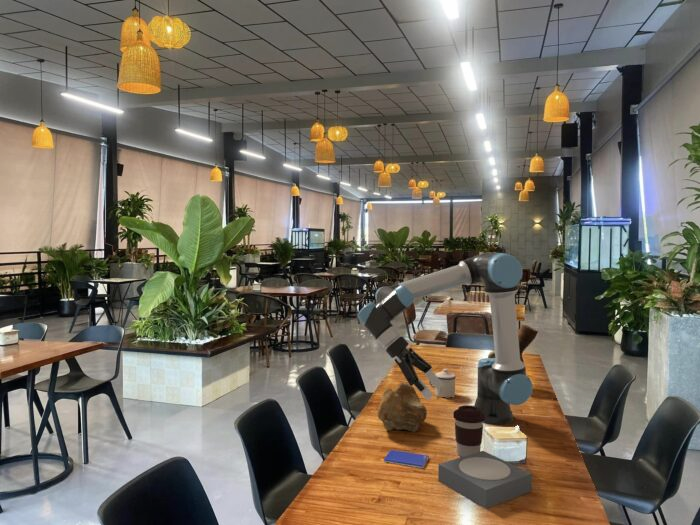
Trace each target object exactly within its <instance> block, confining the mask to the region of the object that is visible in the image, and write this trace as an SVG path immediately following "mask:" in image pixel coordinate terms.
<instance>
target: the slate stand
mask: <svg viewBox="0 0 700 525" xmlns="http://www.w3.org/2000/svg"><path fill="white" fill-rule="evenodd" d="M437 470H438V475H437V476H438V478H437V479H438V480H437V481H438V482H439V483H441V484H442V485H444V486H446V487H448V488H449V489H451V490H453V491H454V492H456V493H458V494H459V493H460V495H461V496H463V497H464V496H465V497H464V498H466V499H468V500H470V501H471V502H473V503H474V504H476V505H477V506H479V507H482V508H483V509H490V508H491V507H494V506H496V505H499V504H503V503H505V502H507V501H509V500H512V499H514V498H517V497H520V496H523V495H526V494H528V493H530V492H532V485H533V484H532V483H533V482H532V480H533V473H531V472H529V471H527V470H526V469H523V468H521V467H519V466H516V465H514V464H513V463H510V462H507V461H506V460H504V459H502V458H500V457H498V456H495V455H493V454H492V453H489V452H487V451H484V450H480V452H477V453H474V454H470V455H467V456H464V457H462V456H460V457H457V458H454V459H451V460H447V461H444V462H441V463H438V469H437Z"/></svg>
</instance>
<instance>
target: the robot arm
mask: <svg viewBox="0 0 700 525" xmlns="http://www.w3.org/2000/svg"><path fill="white" fill-rule="evenodd" d="M523 271H524V270H523V266H522V264H521V262H520V261H519V259H518V258H517V257H515V256H514V255H511V254H508V253H505V252H491V251H490V252H484V253H480V254H478V255H474V256H472V257H469V258H467V259H464V260H461V261H459V263H458V264H457V265H452V266H450V267H447V268H443V269H440V270H437V271H434V272H431V273H429V274H425V275H422V276H418V277H415V278H412V279H409V280H405V281H402V282H399V283H396V284H393V285H389V286H381V287H379V288H378V289H377V290H376V292H375V295H374V296H375V301H376V303H374V302H372V301H370V302H369V303H367V304H366V305H364V306H363V307H362V308H361V309H360V310H359V312H358V313H357V318H358V320H359V321H360V322H361V324H362V325H363V326H364V327H365V329H367V330H368V332H370V334H371V336H373V338H374V339H375V340H376V341H377V342H378V346H379V345H380V346H381V347H382V348H383V349H385V352H386V354H388V355H389V357H390V358H392V359H393V358H395V357H396V358H395V359H394V362H395V363H396V365H397V366H398V368H399V369H400V371H401V372H402V374H403V376H404V378H405V379H406V381H407V383H408V384H410V385H411V386H414V388H416V389H417V390H418V391H419V393H420V394H421V395H422V396H423V398H425V400H426V401H428V400H430V399H431V398H433V396H434V395H435V393H433V392H432V390H430V388H429V387H428V386H427V385H426V384H425V383H424V381H423V379H421V378H420V379H419V377H418V375H417V372H416V370H415V368H416V369H418V371H421V372H422V373H424V376H425V377H426V378H427V379H428V381H429V380H430V382H431V384H432V386H434V387H436V389H438V388H440V387H441V386H442V385H443V383H442V382H441V381H440V380H439V378H438V377H437V376H436V375H435V374H436V373H435V372H434V371H433V370H432V368H433V366H432V365H431V364H430V363H428V362H427V361H426V360H425V359H424V358H423V357H421V356H420V355H419V354H418V353H416V352H415V350H414V349H413V348H412V347H409V348H408V346H409V342H408V341H407V340H406V338H405V337H404V336H401V332H399V330H398V329H397V328H396V327H395V326H394V325H393V323H392V321H393V320H394V319H396V318H397V317H398V316H399V315H400V314H402V313H403V312H404V311H405V310H406V309H408V308H410V306H411V304H413V303H414V302H415V300H417V299H421V298H424V297H427V296H431V295H434V294H437V293H440V292H443V291H446V290H449V289H453V288H455V287H459V286H463V285H466V286H471V285H474V284H484V293H485V294H487V295H488V297H489V304H490V315H491V325H492V334H493V335H492V336H493V337H492V338H493V344H494V346H493V347H494V348H493V349H494V351H495V358H488V357H485V358H481V359H479V360H478V362H477V387H476V388H477V394H476V395H477V396H476V400H475V402H474V405H473V406H475V407H478V408H479V409H480V411H481V412H483V413H484V414H485V420H484V421H483V423H486V424H491V425H492V424H493V425H494V424H495V425H501V424H509V423H511V422H512V421H513V411H512V409H511V406H520V405H522V404H525V403H526V402H527V401H528V400H529V399H530V398H531V396H532V395H533V390H534V389H533V387H534V385H533V382H532V380H531V379H530V377H529V376H527V373H526V370H527V369H526V364H525V362H524V363H523V362H522V361H521V360H520V351H519V340H518V331H519V329H518V320H517V310H516V308H517V307H516V300H515V298H516V297H515V295H516V294H517V292H518V291H519V283H520V281H521V280H522V279H523ZM414 367H415V368H414Z"/></svg>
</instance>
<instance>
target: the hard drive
mask: <svg viewBox="0 0 700 525" xmlns="http://www.w3.org/2000/svg"><path fill="white" fill-rule="evenodd" d="M428 460H429V455H428V454H421V453H415V452H414V453H413V452H407V451H401V450H396V449H395V450H394V449H390V450H389V451H388V453H387V454H386V456H385V457H384V458H383V463H387V462H389V463H388V464H393V463H395V464H394V465H399V464H401V465H400V466H405V465H408V466H407V467H410V466H412V468H416V467H418V469H422V468H423V469H424V467H425V466H426V464H427V462H428Z"/></svg>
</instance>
